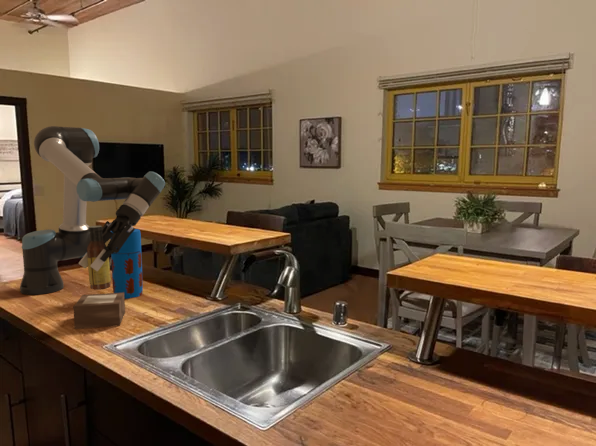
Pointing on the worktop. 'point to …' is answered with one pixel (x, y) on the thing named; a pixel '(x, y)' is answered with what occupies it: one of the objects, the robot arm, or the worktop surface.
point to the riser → (99, 310)
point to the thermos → (128, 267)
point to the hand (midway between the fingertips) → (87, 267)
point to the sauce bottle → (94, 248)
